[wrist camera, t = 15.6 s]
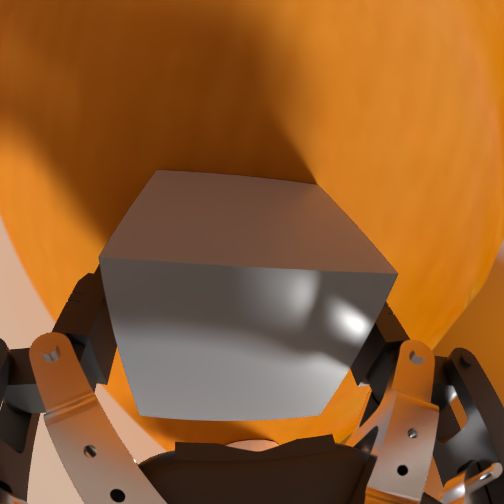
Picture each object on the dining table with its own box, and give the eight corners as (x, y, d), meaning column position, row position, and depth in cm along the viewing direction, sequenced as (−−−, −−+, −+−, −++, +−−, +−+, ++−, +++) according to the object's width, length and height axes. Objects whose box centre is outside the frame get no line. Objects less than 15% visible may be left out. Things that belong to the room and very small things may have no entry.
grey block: (156, 169, 11) (98, 256, 5) (317, 184, 12) (398, 273, 6) (159, 300, 14) (140, 415, 9) (287, 306, 15) (319, 415, 10)
